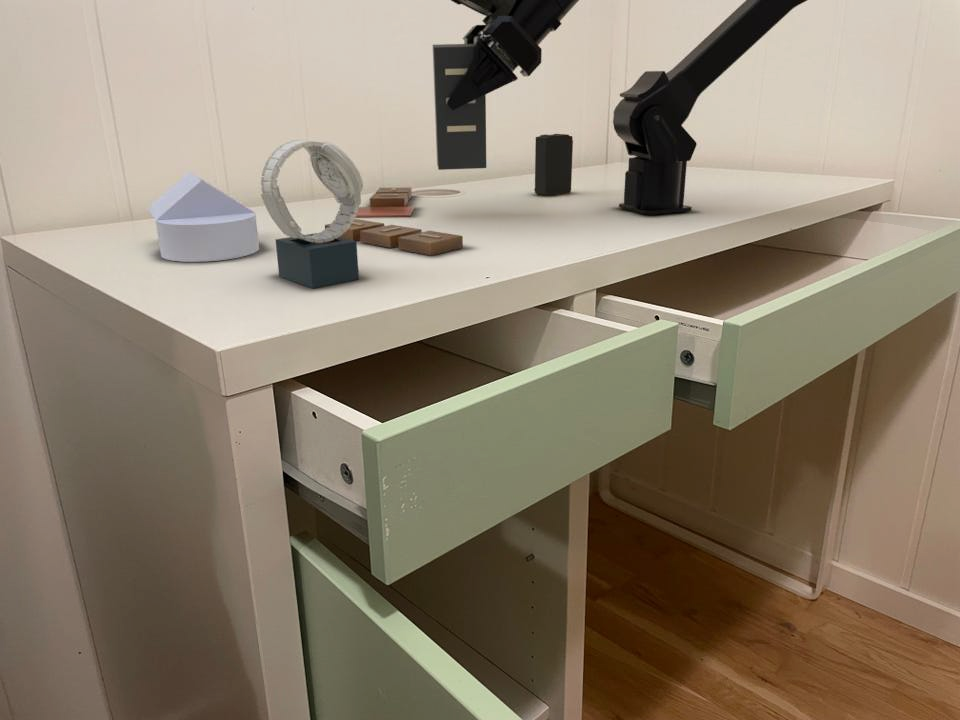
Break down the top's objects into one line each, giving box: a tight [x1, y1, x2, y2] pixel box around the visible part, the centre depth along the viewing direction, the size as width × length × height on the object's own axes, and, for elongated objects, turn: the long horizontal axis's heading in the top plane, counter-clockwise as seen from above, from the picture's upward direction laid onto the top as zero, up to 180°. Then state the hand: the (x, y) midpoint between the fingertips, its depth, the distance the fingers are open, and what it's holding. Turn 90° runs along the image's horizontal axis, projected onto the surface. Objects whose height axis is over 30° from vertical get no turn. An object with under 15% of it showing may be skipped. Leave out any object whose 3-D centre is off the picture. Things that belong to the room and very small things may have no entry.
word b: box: [355, 186, 415, 218], centre depth 100 cm, size 17×7×1 cm, turn 0°
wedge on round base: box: [147, 171, 260, 263], centre depth 76 cm, size 9×7×13 cm
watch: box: [260, 139, 364, 289], centre depth 63 cm, size 6×8×11 cm
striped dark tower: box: [432, 43, 487, 171], centre depth 88 cm, size 4×6×13 cm, turn 95°
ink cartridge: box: [533, 133, 574, 197], centre depth 108 cm, size 5×2×8 cm, turn 127°
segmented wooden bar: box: [324, 218, 464, 257], centre depth 78 cm, size 15×4×1 cm, turn 50°
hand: (447, 106), depth 87 cm, fingers closed on striped dark tower, 4 cm apart
